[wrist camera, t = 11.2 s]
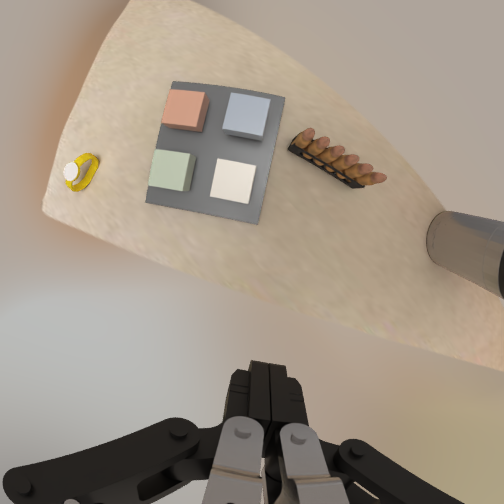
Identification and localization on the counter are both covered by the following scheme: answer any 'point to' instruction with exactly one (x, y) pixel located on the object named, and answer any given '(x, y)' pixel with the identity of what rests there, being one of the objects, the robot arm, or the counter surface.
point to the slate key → (246, 116)
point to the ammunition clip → (334, 160)
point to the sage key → (172, 170)
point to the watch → (74, 170)
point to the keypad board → (218, 156)
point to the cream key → (233, 181)
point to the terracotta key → (185, 110)
